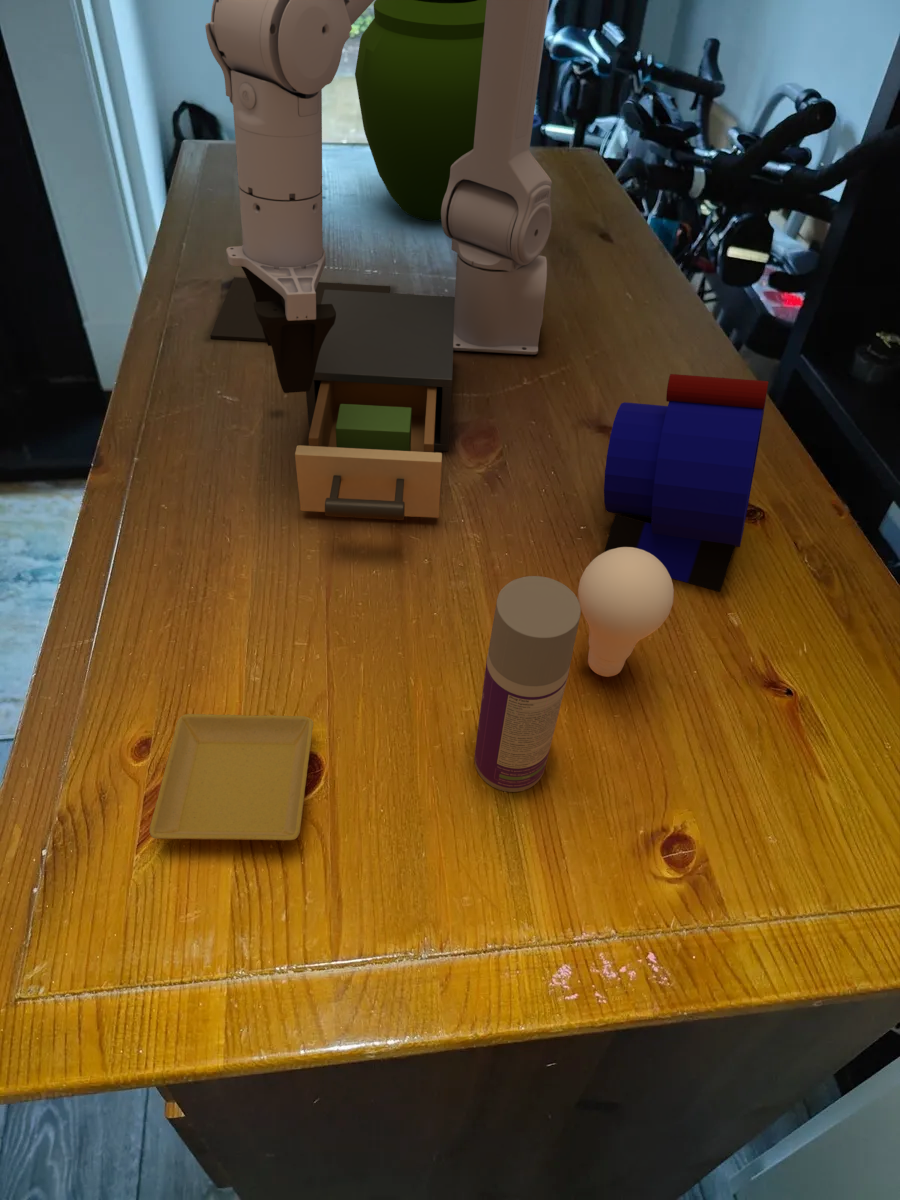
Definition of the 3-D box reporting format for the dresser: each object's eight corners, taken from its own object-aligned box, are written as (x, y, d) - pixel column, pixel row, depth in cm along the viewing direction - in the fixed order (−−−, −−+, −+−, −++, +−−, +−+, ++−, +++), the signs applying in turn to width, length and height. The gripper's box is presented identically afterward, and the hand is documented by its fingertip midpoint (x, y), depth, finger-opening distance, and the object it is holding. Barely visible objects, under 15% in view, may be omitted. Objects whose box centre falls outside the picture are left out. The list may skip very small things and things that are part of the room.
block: (410, 450, 74) (411, 407, 71) (408, 475, 72) (409, 431, 68) (342, 447, 74) (340, 403, 70) (337, 472, 71) (335, 428, 68)
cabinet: (447, 451, 77) (452, 379, 72) (310, 444, 77) (303, 371, 71) (450, 365, 87) (454, 296, 82) (328, 359, 87) (324, 289, 81)
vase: (374, 174, 121) (371, -35, 103) (509, 188, 120) (530, -20, 102) (344, 231, 108) (334, 3, 90) (495, 248, 106) (516, 20, 89)
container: (470, 732, 56) (489, 574, 46) (539, 729, 57) (574, 572, 46) (477, 794, 53) (500, 641, 42) (550, 790, 54) (591, 638, 43)
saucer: (153, 853, 50) (145, 837, 48) (184, 730, 55) (178, 712, 54) (301, 856, 50) (298, 840, 48) (316, 734, 56) (314, 715, 54)
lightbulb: (591, 716, 58) (623, 608, 50) (544, 653, 61) (567, 543, 53) (662, 685, 60) (704, 577, 52) (613, 627, 64) (645, 517, 56)
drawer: (437, 553, 67) (440, 496, 63) (293, 546, 67) (286, 489, 62) (442, 422, 79) (445, 367, 75) (320, 415, 79) (316, 360, 74)
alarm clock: (727, 594, 67) (794, 438, 56) (577, 551, 69) (612, 394, 58) (745, 501, 75) (807, 349, 64) (610, 466, 77) (647, 314, 66)
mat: (390, 289, 98) (390, 286, 98) (382, 348, 89) (382, 344, 89) (234, 280, 97) (234, 277, 97) (210, 338, 89) (210, 335, 88)
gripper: (210, 153, 62) (225, 327, 72) (235, 227, 53) (249, 417, 62) (305, 154, 64) (308, 323, 74) (347, 225, 55) (344, 410, 64)
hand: (287, 365), depth 68 cm, fingers open, 7 cm apart
